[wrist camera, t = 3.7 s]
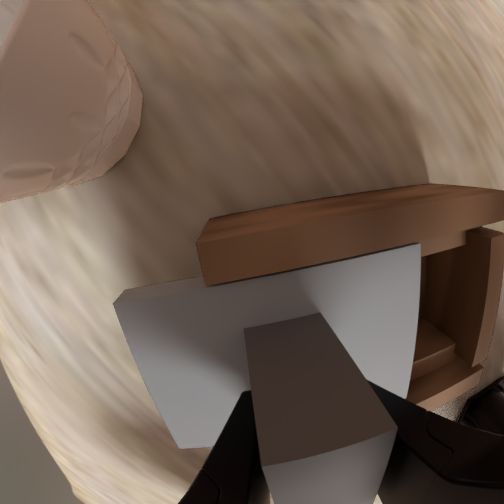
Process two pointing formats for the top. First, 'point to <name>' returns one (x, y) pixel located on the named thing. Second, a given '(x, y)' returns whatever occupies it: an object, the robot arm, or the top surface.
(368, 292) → the cover plate
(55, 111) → the beige cup
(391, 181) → the top surface
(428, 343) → the walnut box
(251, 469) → the robot arm
